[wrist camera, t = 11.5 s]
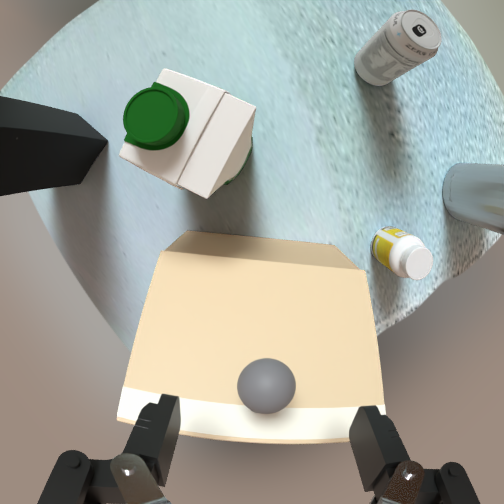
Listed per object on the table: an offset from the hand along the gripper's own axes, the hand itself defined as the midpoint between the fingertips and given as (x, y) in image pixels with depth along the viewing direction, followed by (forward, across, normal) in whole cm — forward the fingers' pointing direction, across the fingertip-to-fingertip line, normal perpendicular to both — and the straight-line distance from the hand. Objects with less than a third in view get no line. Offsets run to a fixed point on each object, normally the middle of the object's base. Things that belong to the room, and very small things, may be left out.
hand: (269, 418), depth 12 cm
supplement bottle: (+30, -18, -3) cm, 35 cm away
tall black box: (+30, +28, -13) cm, 43 cm away
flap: (+11, 0, +3) cm, 11 cm away
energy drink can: (+30, -13, -28) cm, 43 cm away
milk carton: (+30, +7, -13) cm, 33 cm away
